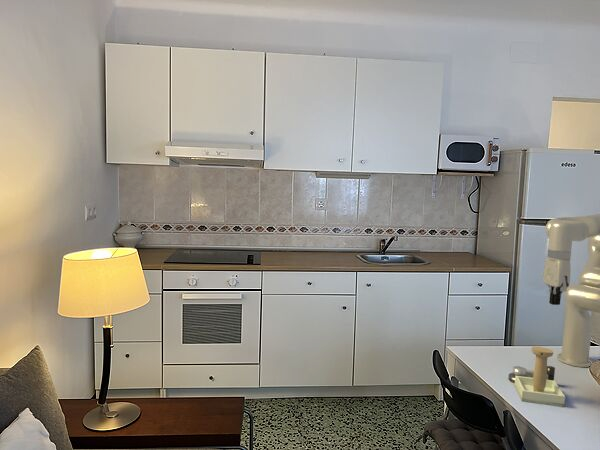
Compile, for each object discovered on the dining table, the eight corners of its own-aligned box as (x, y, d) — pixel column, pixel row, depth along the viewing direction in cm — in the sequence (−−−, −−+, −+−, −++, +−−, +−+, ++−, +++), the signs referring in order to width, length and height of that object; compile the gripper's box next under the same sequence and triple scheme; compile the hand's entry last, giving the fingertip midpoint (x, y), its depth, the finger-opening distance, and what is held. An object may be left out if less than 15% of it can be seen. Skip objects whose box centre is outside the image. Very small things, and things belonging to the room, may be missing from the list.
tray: (514, 385, 168) (515, 375, 168) (553, 390, 165) (554, 380, 165) (521, 401, 156) (522, 390, 156) (563, 406, 153) (564, 396, 153)
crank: (513, 377, 171) (514, 364, 170) (511, 372, 175) (512, 360, 174) (555, 383, 167) (556, 370, 167) (552, 378, 171) (553, 365, 171)
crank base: (506, 375, 177) (507, 371, 176) (562, 382, 172) (562, 378, 172) (510, 383, 170) (510, 379, 170) (568, 390, 165) (568, 386, 165)
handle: (549, 397, 157) (553, 353, 156) (527, 392, 160) (531, 349, 159) (549, 392, 161) (553, 349, 160) (528, 387, 164) (532, 345, 163)
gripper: (537, 251, 182) (533, 298, 183) (561, 258, 167) (556, 309, 169) (556, 252, 182) (552, 299, 184) (582, 259, 167) (577, 310, 169)
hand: (554, 304), depth 176 cm, fingers closed
